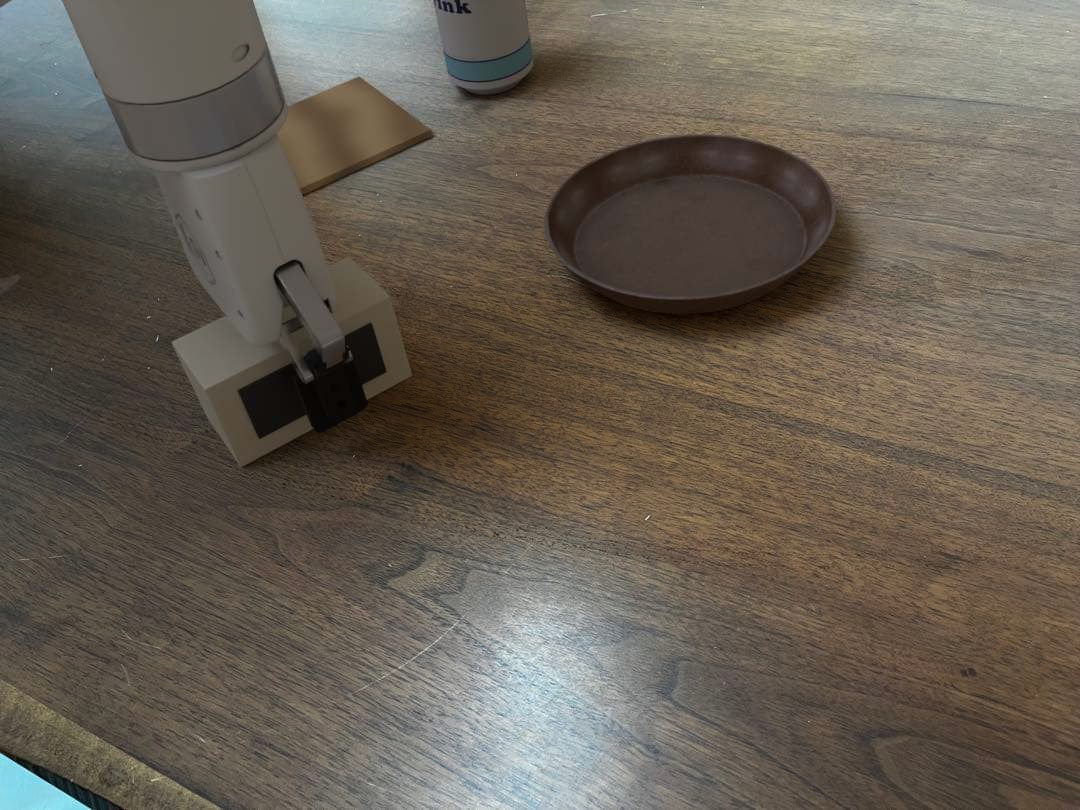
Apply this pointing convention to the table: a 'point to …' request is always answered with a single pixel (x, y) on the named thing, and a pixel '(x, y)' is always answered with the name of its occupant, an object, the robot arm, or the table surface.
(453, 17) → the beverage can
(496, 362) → the table surface
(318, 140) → the pad
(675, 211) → the plant saucer
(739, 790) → the table surface
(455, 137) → the table surface
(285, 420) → the clock
